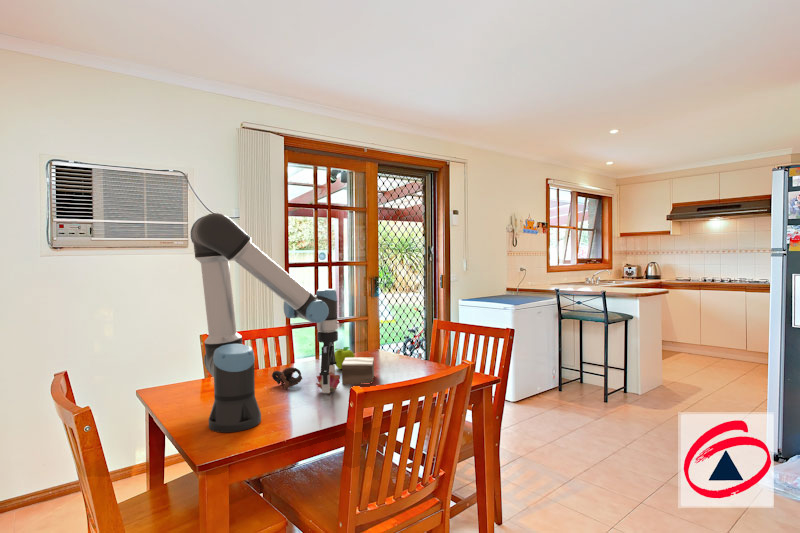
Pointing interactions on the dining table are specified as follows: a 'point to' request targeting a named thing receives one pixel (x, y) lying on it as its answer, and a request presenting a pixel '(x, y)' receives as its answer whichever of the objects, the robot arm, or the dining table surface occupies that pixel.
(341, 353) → the fruit
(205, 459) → the dining table surface
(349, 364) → the pedestal
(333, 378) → the flower
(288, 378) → the pottery mug
